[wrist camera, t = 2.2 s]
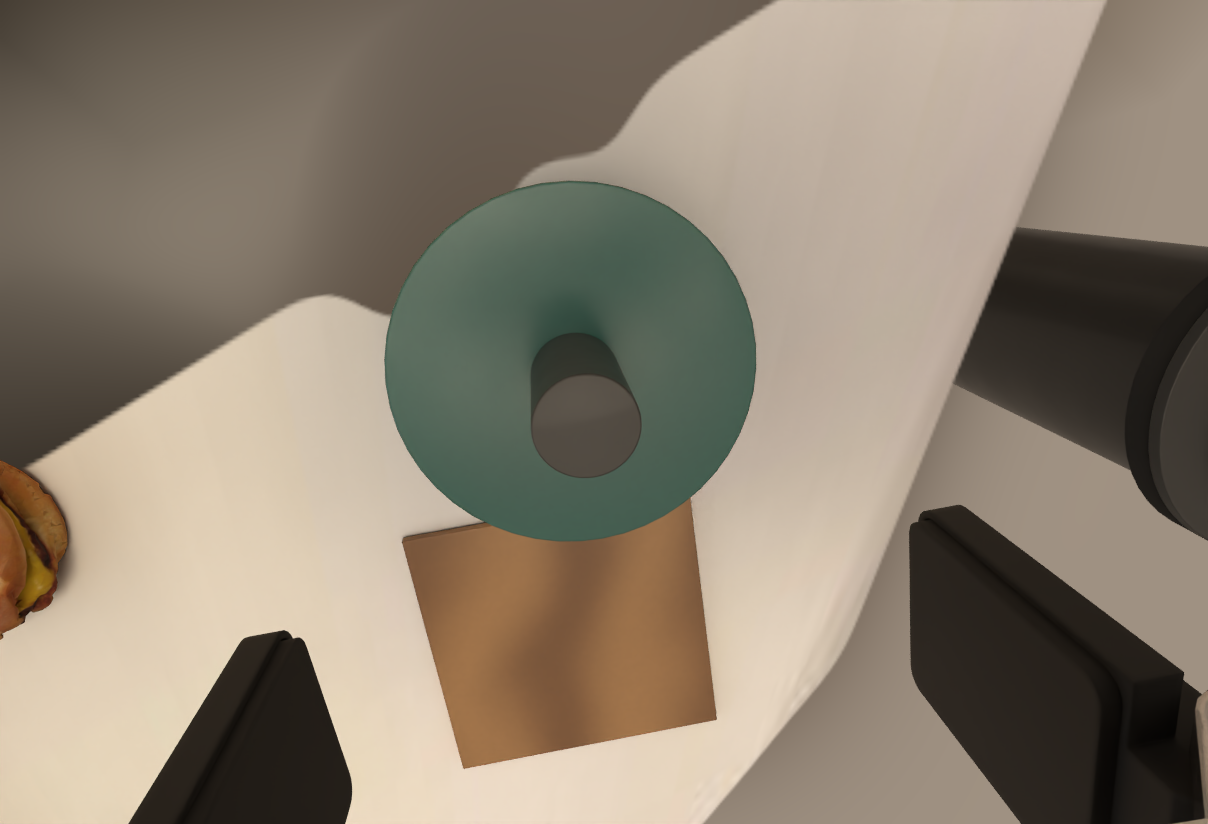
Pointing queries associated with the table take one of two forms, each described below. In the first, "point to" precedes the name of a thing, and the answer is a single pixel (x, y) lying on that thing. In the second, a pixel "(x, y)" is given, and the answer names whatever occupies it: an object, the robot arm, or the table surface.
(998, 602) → the robot arm
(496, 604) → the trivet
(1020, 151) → the table surface
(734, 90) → the table surface
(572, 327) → the tin lid
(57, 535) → the burger
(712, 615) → the table surface
